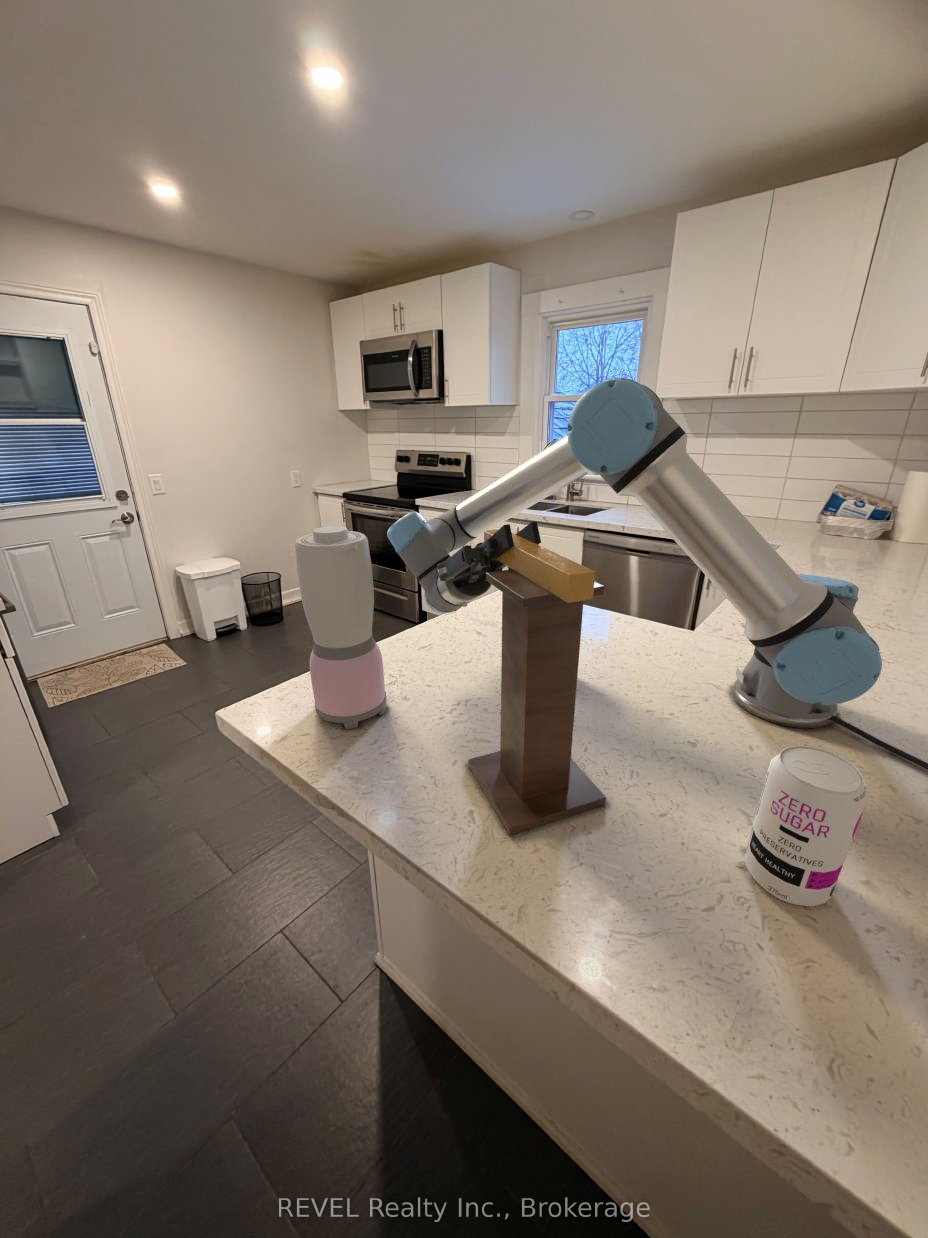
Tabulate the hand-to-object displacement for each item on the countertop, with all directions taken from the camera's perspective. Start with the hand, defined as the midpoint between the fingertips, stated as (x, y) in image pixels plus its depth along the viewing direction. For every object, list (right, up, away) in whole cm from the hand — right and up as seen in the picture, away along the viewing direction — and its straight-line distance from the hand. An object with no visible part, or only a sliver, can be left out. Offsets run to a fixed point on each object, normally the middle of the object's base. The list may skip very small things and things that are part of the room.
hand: (522, 533), depth 60 cm
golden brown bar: (+1, -5, 0) cm, 5 cm away
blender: (-28, -26, +28) cm, 48 cm away
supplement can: (+28, -39, -6) cm, 49 cm away
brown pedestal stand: (+2, -33, +9) cm, 35 cm away
